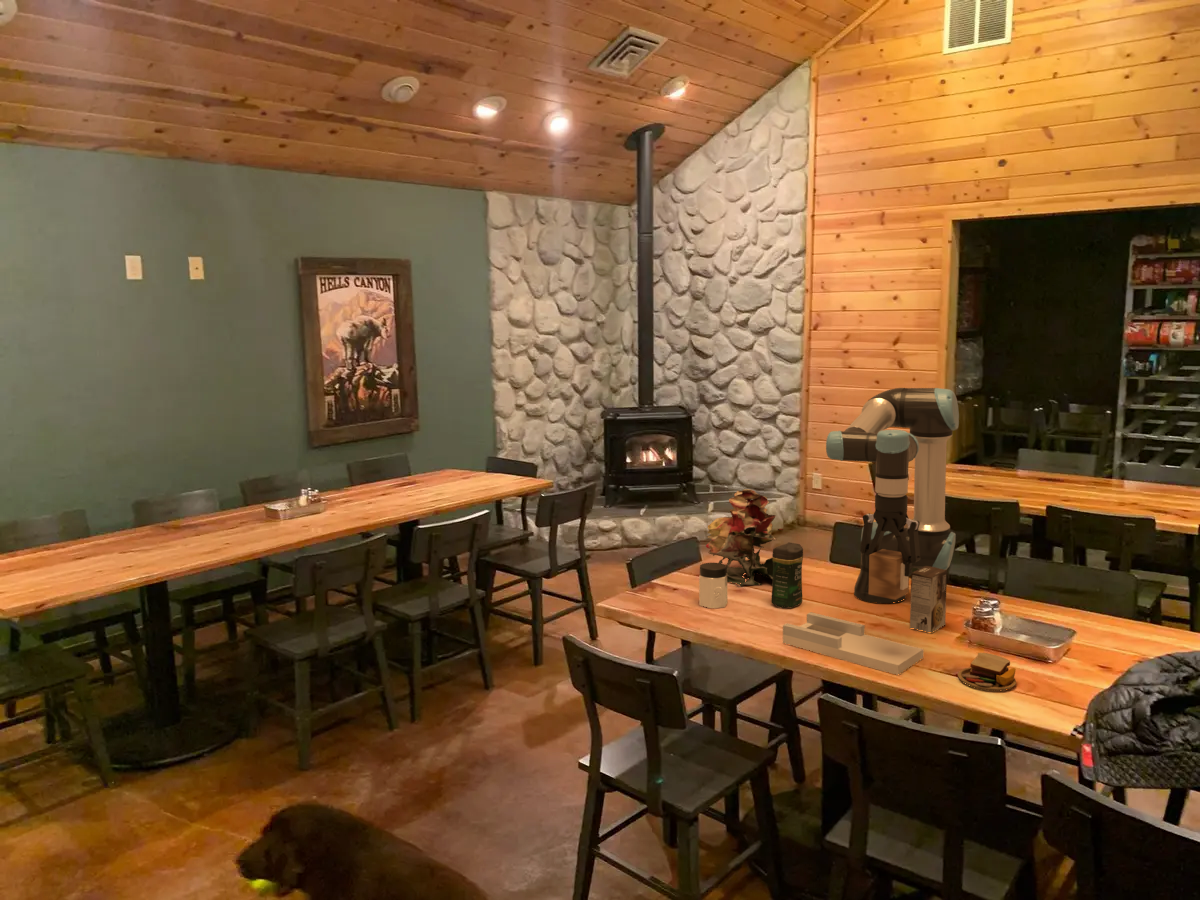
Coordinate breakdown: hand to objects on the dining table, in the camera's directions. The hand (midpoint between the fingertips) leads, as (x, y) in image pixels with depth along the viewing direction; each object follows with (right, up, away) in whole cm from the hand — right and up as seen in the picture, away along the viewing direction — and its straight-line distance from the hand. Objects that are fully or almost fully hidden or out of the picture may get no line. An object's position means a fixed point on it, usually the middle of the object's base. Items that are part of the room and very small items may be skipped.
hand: (889, 585), depth 213 cm
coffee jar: (-15, -13, +48) cm, 52 cm away
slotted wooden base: (-7, -18, +10) cm, 22 cm away
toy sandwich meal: (+19, -21, -10) cm, 30 cm away
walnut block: (0, -2, 0) cm, 2 cm away
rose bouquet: (-23, -10, +77) cm, 81 cm away
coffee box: (+19, -16, +26) cm, 36 cm away
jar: (-37, -14, +49) cm, 63 cm away
